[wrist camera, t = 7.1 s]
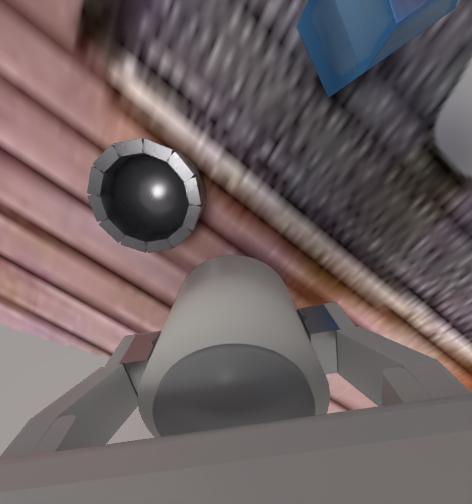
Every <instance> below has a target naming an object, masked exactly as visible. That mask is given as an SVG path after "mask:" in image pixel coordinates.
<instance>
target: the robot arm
mask: <svg viewBox="0 0 472 504" xmlns="http://www.w3.org/2000/svg"><path fill="white" fill-rule="evenodd" d="M297 312H298V315H299V317H300V319H301V321H302V324H303V326H304V328H305V330H306V332H307V335H308V337H309V339H310V341H311V344H312V346H313V348H314V350H315V353H316V355H317V357H318V359H319V361H320V364H321V366H322V368H323V370H324V373H325V374H332V373H338V374H339V375H340V376H342V377H343V378H344V379H345V380H347V381H348V382H349V383H350V384H352V385H353V386H354V387H355V388H357V389H358V390H359V391H360V392H361V393H363V394H364V395H365V396H366V397H368V398H369V399H370V400H371V401H373V402H374V403H375V404H376V405H378V406H379V407H372V408H365V409H358V410H351V411H344V412H336V413H329V414H322V415H315V416H307V417H300V418H293V419H286V420H278V421H271V422H264V423H257V424H250V425H242V426H235V427H228V428H221V429H214V430H207V431H200V432H193V433H185V434H178V435H171V436H164V437H157V438H150V439H143V440H135V441H128V442H121V443H114V444H107V445H106V443H107V442H108V441H109V440H110V439H111V437H112V436H113V435H114V434H115V433H116V431H117V430H118V429H119V428H120V427H121V425H122V424H123V423H124V422H125V421H126V419H127V418H128V417H129V416H130V415H131V413H132V412H133V411H134V410H135V409H136V407H137V406H138V389H139V384H140V381H141V378H142V376H143V373H144V371H145V369H146V366H147V364H148V362H149V359H150V357H151V355H152V352H153V350H154V348H155V345H156V343H157V341H158V339H159V336H160V334H161V332H162V331H156V332H148V333H141V334H134V335H128V336H125V337H124V338H123V339H122V341H121V342H120V344H119V345H118V347H117V348H116V350H115V352H114V353H113V355H112V356H111V358H110V359H109V361H108V362H107V364H106V365H105V367H101V368H99V369H98V370H96V371H95V372H94V373H92V374H91V375H90V376H88V377H87V378H86V379H84V380H83V381H82V382H80V383H79V384H77V385H76V386H75V387H74V388H72V389H71V390H70V391H68V392H67V393H66V394H64V395H63V396H61V397H60V398H58V399H57V400H56V401H54V402H53V403H52V404H50V405H49V406H48V407H46V408H45V409H44V410H42V411H41V412H40V413H38V414H37V415H35V416H34V417H33V418H31V419H30V420H29V421H28V422H27V424H26V425H25V426H24V427H23V429H22V430H21V431H20V433H19V434H18V435H17V436H16V437H15V439H14V440H13V441H12V442H11V444H10V445H9V446H8V447H7V448H6V450H5V451H4V452H3V454H2V455H1V456H0V504H472V392H471V391H470V390H468V389H467V388H466V387H465V386H464V385H463V384H462V383H461V382H460V381H459V380H458V379H457V378H456V377H455V376H454V375H453V374H451V373H450V372H449V371H448V370H447V369H446V368H445V367H444V366H443V365H442V364H441V363H440V362H439V361H438V360H436V359H433V358H431V357H429V356H427V355H424V354H422V353H420V352H417V351H415V350H413V349H410V348H408V347H406V346H404V345H401V344H399V343H397V342H394V341H392V340H390V339H387V338H385V337H383V336H381V335H378V334H376V333H374V332H371V331H369V330H367V329H364V328H362V327H356V326H355V325H354V324H353V322H352V321H351V320H350V319H349V317H348V316H347V315H346V313H345V312H344V311H343V310H342V308H341V307H340V306H339V305H338V303H336V302H331V303H326V304H322V305H317V306H311V307H306V308H300V309H297Z"/></svg>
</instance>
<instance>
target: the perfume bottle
mask: <svg viewBox="0 0 472 504" xmlns="http://www.w3.org/2000/svg"><path fill="white" fill-rule="evenodd" d="M457 2H458V0H308V3H307V5H306V7H305V9H304V11H303V14H302V16H301V18H300V20H299V23H298V25H297V29H298V31H299V33H300V35H301V38H302V40H303V42H304V44H305V47H306V49H307V51H308V53H309V56H310V58H311V60H312V62H313V65H314V67H315V69H316V71H317V74H318V76H319V78H320V80H321V83H322V85H323V87H324V89H325V92H326V94H327V96H328V98H329V97H330V96H332V95H333V94H335V93H336V92H338V91H339V90H340V89H342V88H343V87H345V86H346V85H347V84H349V83H350V82H352V81H353V80H355V79H356V78H357V77H359V76H360V75H362V74H363V73H365V72H366V71H367V70H369V69H370V68H372V67H373V66H375V65H376V64H377V63H379V62H380V61H382V60H383V59H385V58H386V57H387V56H389V55H390V54H392V53H393V52H394V51H396V50H397V49H399V48H400V47H401V46H403V45H404V44H406V43H407V42H408V41H410V40H411V39H413V38H414V37H415V36H417V35H418V34H420V33H421V32H422V31H424V30H425V29H427V28H428V27H429V26H431V25H432V24H434V23H435V22H436V21H438V20H439V19H441V18H442V17H443V16H445V15H446V14H448V13H449V12H450V11H452V10H453V9H455V7H456V4H457Z"/></svg>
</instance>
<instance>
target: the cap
mask: <svg viewBox="0 0 472 504" xmlns="http://www.w3.org/2000/svg"><path fill="white" fill-rule="evenodd" d="M329 400H330V391H329V384H328V381H327V378H326V375H325V373H324V370H323V368H322V366H321V364H320V361H319V359H318V357H317V355H316V353H315V350H314V348H313V346H312V344H311V341H310V339H309V337H308V335H307V332H306V330H305V328H304V326H303V324H302V321H301V319H300V317H299V315H298V312H297V310H296V308H295V306H294V303H293V301H292V299H291V297H290V294H289V292H288V290H287V288H286V286H285V284H284V282H283V280H282V279H281V277H280V276H279V275H278V274H277V273H276V272H275V271H274V270H273V269H272V268H271V267H270V266H268V265H267V264H265V263H263V262H262V261H259V260H257V259H254V258H251V257H247V256H241V255H227V256H220V257H216V258H213V259H210V260H208V261H206V262H204V263H202V264H200V265H199V266H197V267H196V268H195V269H194V270H193V271H192V272H190V273H189V275H188V276H187V277H186V278H185V280H184V282H183V283H182V285H181V288H180V290H179V292H178V295H177V297H176V299H175V302H174V304H173V306H172V308H171V311H170V313H169V315H168V318H167V320H166V322H165V325H164V327H163V329H162V332H161V334H160V336H159V339H158V341H157V343H156V345H155V348H154V350H153V352H152V355H151V357H150V359H149V362H148V364H147V366H146V369H145V371H144V373H143V376H142V378H141V381H140V384H139V389H138V406H139V411H140V414H141V417H142V420H143V421H144V423H145V425H146V427H147V428H148V430H149V431H150V432H151V433H152V435H153V436H154V437H155V438H157V437H164V436H171V435H178V434H185V433H193V432H200V431H207V430H214V429H221V428H228V427H235V426H242V425H250V424H257V423H264V422H271V421H278V420H286V419H293V418H300V417H307V416H315V415H322V414H326V413H327V411H328V406H329Z"/></svg>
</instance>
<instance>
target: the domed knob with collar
mask: <svg viewBox="0 0 472 504" xmlns="http://www.w3.org/2000/svg"><path fill="white" fill-rule="evenodd" d="M93 165H94V166H95V167H91V172H90V179H89V185H88V191H87V193H89V194H92V195H90V196H88V199H89V201H90V204H91V207H92V209H93V212H94V215H95V217H96V220H97V222H98V221H102V222H101V223H100V224H99V225H100V226H101V227H102V228H103V229H104V230H105V231H106V232H107V233H108V234H109V235H111V236H112V237H113V238H114V239H115V240H116V241H117V242H118V243H119V242H120V241H122V242H121V245H124V246H127V247H130V248H133V249H136V250H139V251H142V252H146V251H147V252H148V253H150V252H156V251H163V250H169V249H172V248H174V247H176V246H177V245H178V244H179V243H180V242H182V241H183V240H184V239H185V238H186V237H188V236H189V235H190V234H191V233H192V232H193V230H194V229H195V227H196V226H197V223H198V220H199V218H200V217H201V215H202V213H203V210H204V207H205V202H206V189H205V184H204V180H203V178H202V175H201V173H200V172H199V170H198V168H197V167H196V165H195V164H194V163H193V162H192V161H191V160H190V159H189V158H188V157H187V156H186V155H184V154H183V153H181V152H180V151H177V150H175V149H173V148H170V147H167V146H164V145H161V144H158V143H156V142H153V141H150V140H147V139H142V138H140V139H135V140H129V141H124V142H118V143H114V145H110V146H109V147H108V148H107V149H106V151H105V152H104V153H103V154H102V155H101V156H100V157H99V158H98V159H97V160H96V161H95V162H94V163H93Z"/></svg>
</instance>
